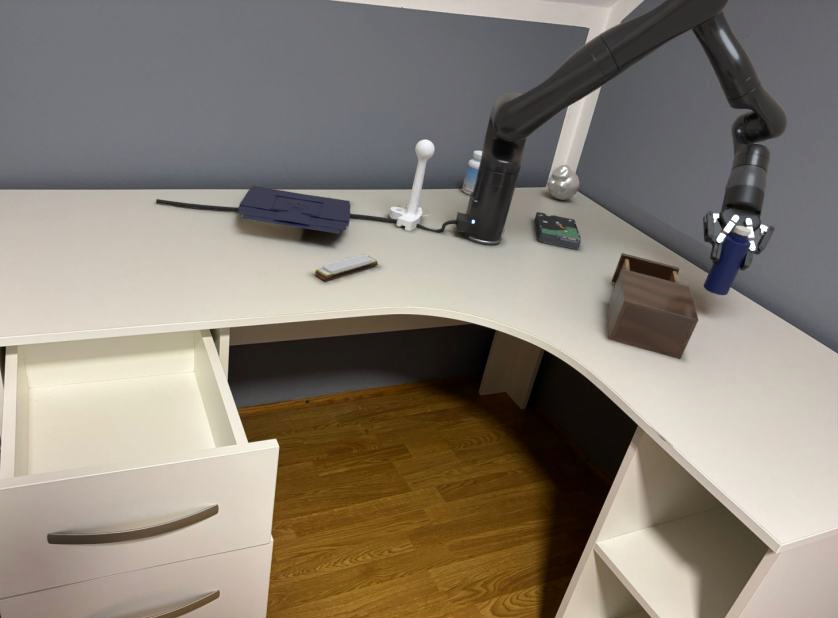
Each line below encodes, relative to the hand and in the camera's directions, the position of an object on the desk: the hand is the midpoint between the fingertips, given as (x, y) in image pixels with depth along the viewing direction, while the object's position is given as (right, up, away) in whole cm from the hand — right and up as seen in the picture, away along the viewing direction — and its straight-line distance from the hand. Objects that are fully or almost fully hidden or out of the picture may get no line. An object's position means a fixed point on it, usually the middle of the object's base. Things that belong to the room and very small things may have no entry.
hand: (729, 265), depth 143 cm
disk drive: (-27, +11, +35) cm, 45 cm away
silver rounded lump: (-20, +26, +61) cm, 69 cm away
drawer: (-15, -6, +8) cm, 18 cm away
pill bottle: (-46, +26, +52) cm, 74 cm away
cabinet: (-19, -13, -3) cm, 24 cm away
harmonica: (-78, -2, -3) cm, 78 cm away
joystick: (-66, +14, +26) cm, 72 cm away
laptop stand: (-91, +12, +16) cm, 93 cm away
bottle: (-1, -5, +5) cm, 7 cm away
